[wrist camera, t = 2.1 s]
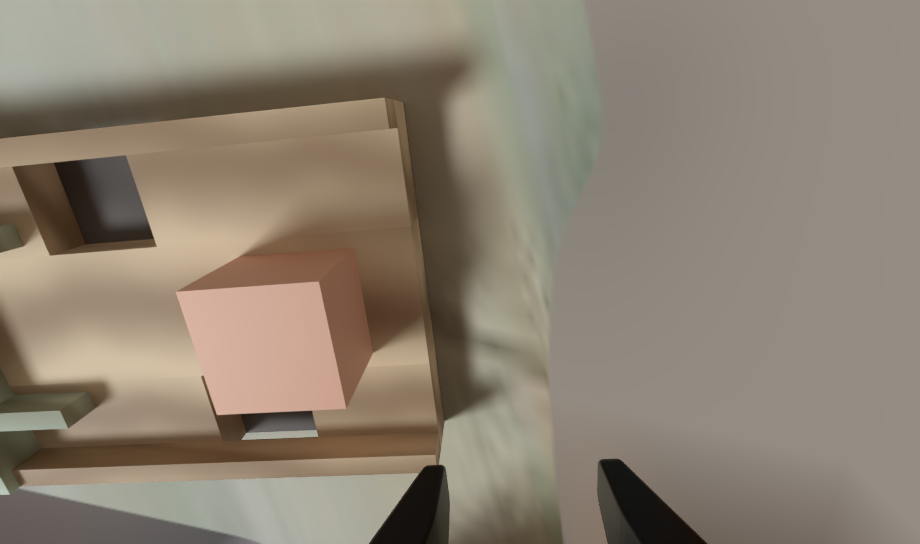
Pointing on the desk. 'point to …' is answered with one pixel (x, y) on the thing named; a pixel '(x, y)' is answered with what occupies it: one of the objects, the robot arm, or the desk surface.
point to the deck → (186, 260)
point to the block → (280, 331)
